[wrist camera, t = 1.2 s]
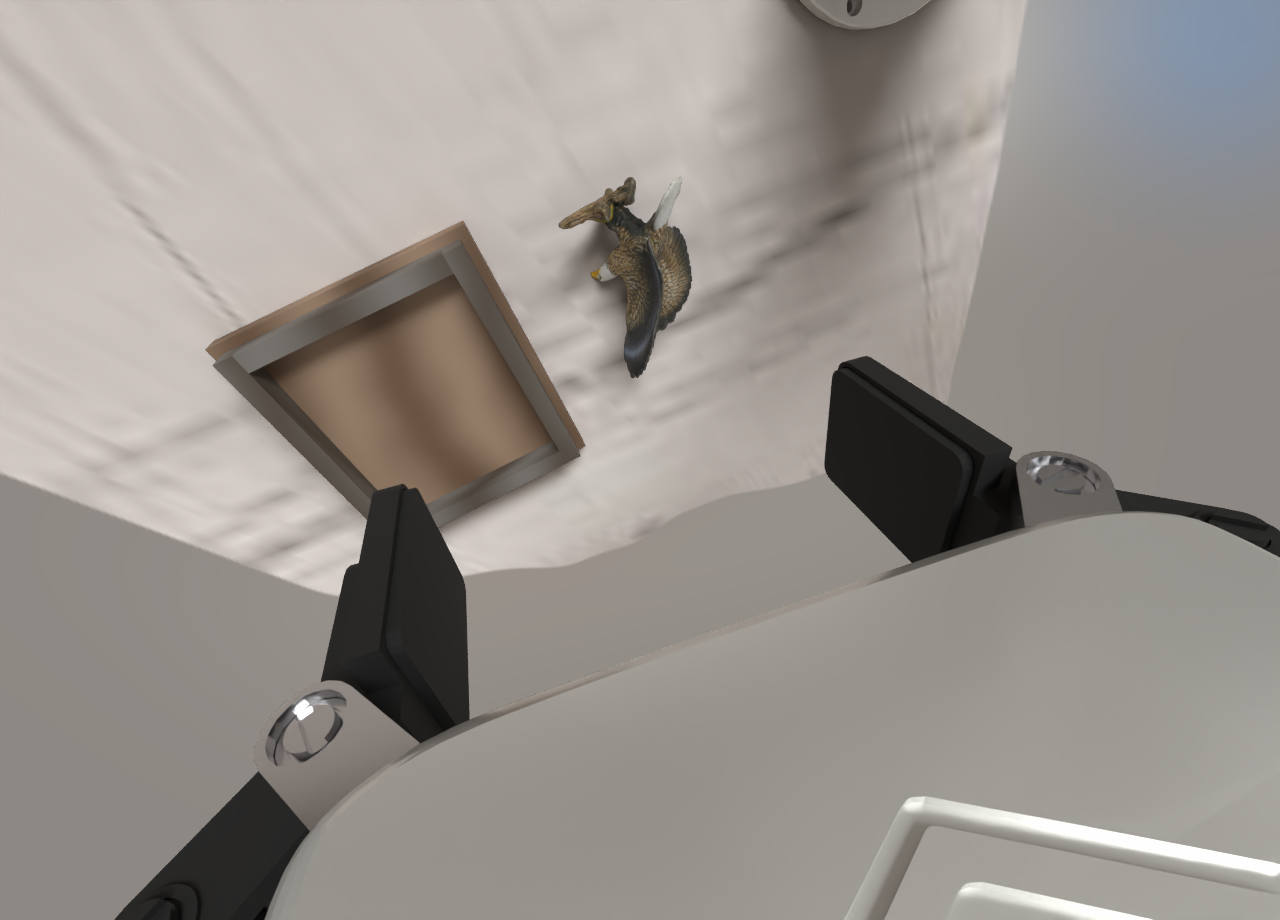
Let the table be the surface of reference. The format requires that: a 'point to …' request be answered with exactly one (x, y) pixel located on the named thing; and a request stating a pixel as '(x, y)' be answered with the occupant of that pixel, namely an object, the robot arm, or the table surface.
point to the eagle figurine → (642, 265)
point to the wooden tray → (407, 381)
